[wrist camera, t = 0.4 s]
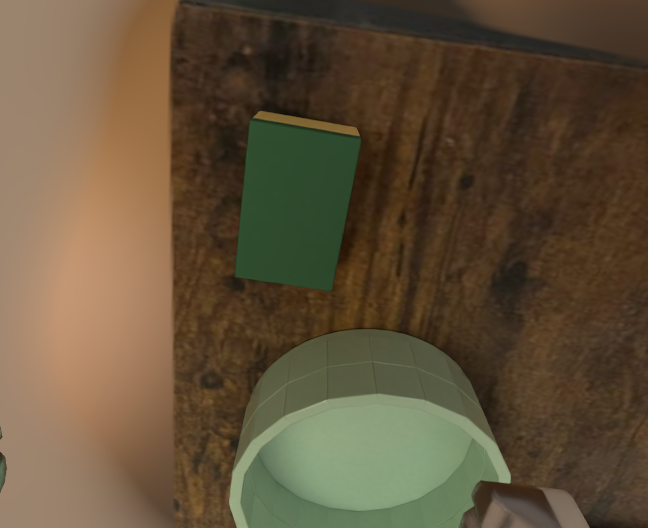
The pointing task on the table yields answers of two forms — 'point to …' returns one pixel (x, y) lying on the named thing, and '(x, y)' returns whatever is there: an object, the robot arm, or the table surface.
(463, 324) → the table surface
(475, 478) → the bowl
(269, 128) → the sponge
